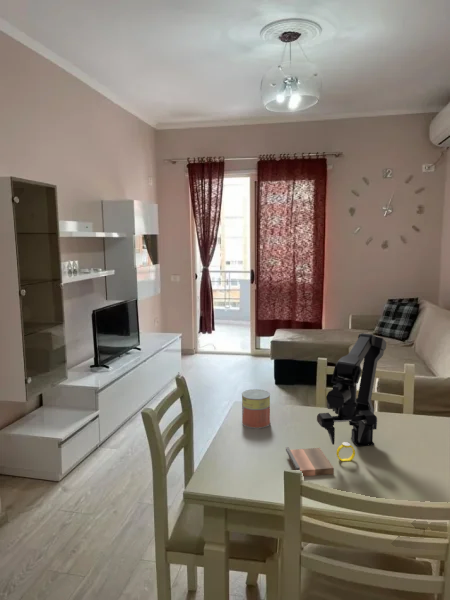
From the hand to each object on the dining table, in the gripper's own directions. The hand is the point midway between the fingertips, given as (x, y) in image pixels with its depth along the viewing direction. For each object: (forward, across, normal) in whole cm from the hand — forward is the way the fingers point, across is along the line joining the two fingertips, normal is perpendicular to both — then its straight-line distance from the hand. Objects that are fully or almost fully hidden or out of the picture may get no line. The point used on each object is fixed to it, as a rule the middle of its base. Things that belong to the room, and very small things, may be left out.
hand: (346, 443), depth 153 cm
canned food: (+6, +24, -35) cm, 43 cm away
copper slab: (+6, +13, +1) cm, 14 cm away
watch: (+6, 0, 0) cm, 6 cm away
